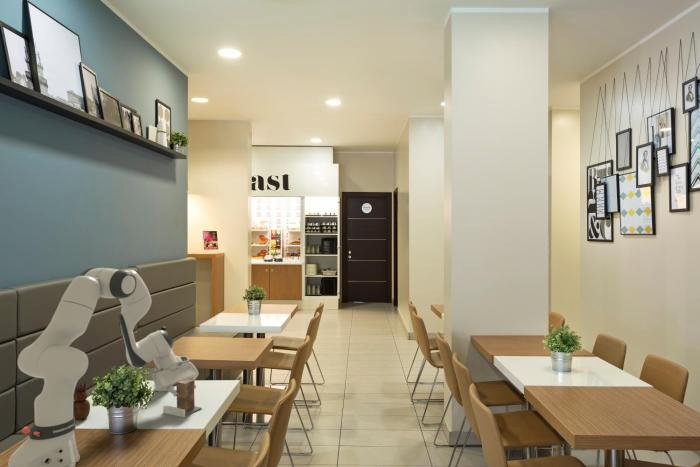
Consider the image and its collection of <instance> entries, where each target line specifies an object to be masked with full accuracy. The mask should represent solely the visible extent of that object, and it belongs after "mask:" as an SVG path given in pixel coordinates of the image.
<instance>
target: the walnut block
mask: <svg viewBox="0 0 700 467" xmlns="http://www.w3.org/2000/svg"><path fill="white" fill-rule="evenodd" d="M175 387H176V390H178V392H179V395H178V396H176V408H180V409H184V410H185V412H188V411H190V410H192V409H195V406H196V405H195V389H194V380H190V379H185V380H182V381H179V382H177V383H176V386H175Z"/></svg>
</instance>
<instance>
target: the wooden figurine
mask: <svg viewBox="0 0 700 467" xmlns="http://www.w3.org/2000/svg"><path fill="white" fill-rule="evenodd" d="M86 387H87V385H86V381H84V383H83V384H82V383H80V385H78V386H77V387H75V390H74V395H73V416H74V417H75V421H82V420H86V419H87V418H88V416H89V415H90V412H91V403H90V401H89V400H88V399H87V398H88V393H87V390H86V389H87V388H86Z"/></svg>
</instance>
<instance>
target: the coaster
mask: <svg viewBox="0 0 700 467" xmlns="http://www.w3.org/2000/svg"><path fill="white" fill-rule="evenodd" d="M201 410H202V407H200V406H196V405H195V409H192V410H190V411H188V412H185V417H186V416H189V415H191V414H193V413H196V412H198V411H201Z"/></svg>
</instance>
